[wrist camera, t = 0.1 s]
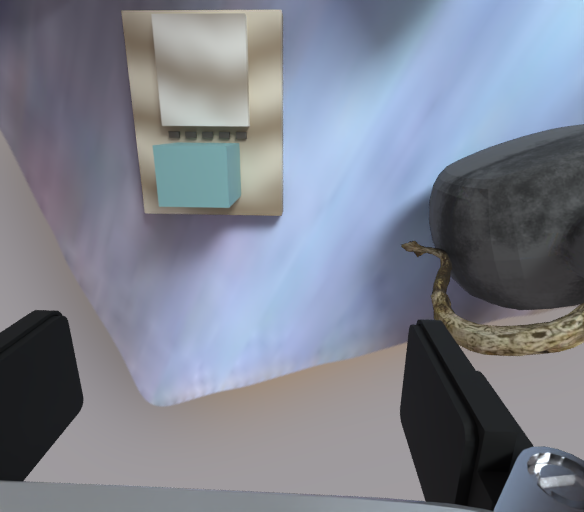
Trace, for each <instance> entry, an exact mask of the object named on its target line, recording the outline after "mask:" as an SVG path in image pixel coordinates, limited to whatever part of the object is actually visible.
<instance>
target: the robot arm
mask: <svg viewBox="0 0 584 512" xmlns="http://www.w3.org/2000/svg"><path fill="white" fill-rule="evenodd" d="M82 405H83V394H82V389H81V384H80V378H79V373H78V368H77V364H76V358H75V353H74V348H73V344H72V338H71V333H70V328H69V323H68V320H67V318H66V317H65V316H62V314H61V313H60V312H59V311H46V310H35V311H33V312H31V313H29V314H28V315H26V316H25V317H23V318H22V319H20V320H19V321H17V322H16V323H14V324H13V325H11V326H10V327H8V328H7V329H5V330H4V331H2V332H1V333H0V512H584V460H582V459H580V458H578V457H576V456H574V455H572V454H570V453H567V452H564V451H562V450H559V449H555V448H550V447H545V446H543V447H534V446H533V445H532V443H531V442H530V440H529V439H528V438H527V436H526V435H525V433H524V432H523V431H522V429H521V428H520V426H519V425H518V424H517V422H516V421H515V419H514V418H513V416H512V415H511V413H510V412H509V411H508V409H507V408H506V406H505V405H504V403H503V402H502V401H501V399H500V398H499V396H498V395H497V393H496V392H495V391H494V389H493V388H492V386H491V385H490V384H489V382H488V381H487V379H486V378H485V377H484V375H483V374H482V373H481V372H479V371H475V369H474V367H473V366H472V364H471V363H470V361H469V360H468V359H467V357H466V356H465V354H464V353H463V351H462V350H461V348H460V347H459V345H458V344H457V342H456V341H455V340H454V338H453V337H452V335H451V334H450V332H449V331H448V329H447V328H446V326H445V325H444V323H443V322H442V321H441V320H418V321H417V324H416V325H411V326H410V328H409V335H408V343H407V353H406V362H405V370H404V380H403V388H402V397H401V406H400V417H401V423H402V426H403V430H404V433H405V436H406V439H407V442H408V446H409V449H410V452H411V455H412V459H413V462H414V465H415V468H416V472H417V475H418V478H419V481H420V484H421V488H422V491H423V494H424V497H425V501H414V500H402V499H390V498H376V497H356V496H354V497H353V496H336V495H315V494H295V493H275V492H254V491H231V490H211V489H187V488H165V487H143V486H142V487H141V486H120V485H97V484H96V485H95V484H73V483H72V484H71V483H48V482H26V481H24V479H25V478H26V477H27V476H28V475H29V473H30V472H31V471H32V470H33V468H34V467H35V466H36V465H37V463H38V462H39V461H40V460H41V459H42V457H43V456H44V455H45V453H46V452H47V451H48V450H49V449H50V447H51V446H52V445H53V444H54V443H55V441H56V440H57V439H58V438H59V436H60V435H61V434H62V433H63V432H64V430H65V429H66V427H68V425H69V424H70V423H71V422H72V420H73V419H74V418H75V417H76V416H77V414H78V413H79V412H80V410H81V408H82Z"/></svg>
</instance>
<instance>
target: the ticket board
mask: <svg viewBox="0 0 584 512" xmlns="http://www.w3.org/2000/svg"><path fill="white" fill-rule="evenodd" d="M121 13H122V21H123V30H124V38H125V47H126V55H127V64H128V73H129V81H130V90H131V98H132V107H133V115H134V124H135V133H136V141H137V150H138V158H139V167H140V175H141V184H142V193H143V201H144V210H145V213H149V214H209V215H268V216H282V213H283V14H282V10H126V11H121ZM176 142H183V143H239V146H240V175H241V196H240V197H239V198H238V199H237V200H236V201H235V202H234V203H233V204H232V205H231V206H230V207H229V208H212V207H159V202H158V193H157V183H156V174H155V164H154V155H153V145H160V144H168V143H176Z"/></svg>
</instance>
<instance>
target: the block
mask: <svg viewBox="0 0 584 512" xmlns="http://www.w3.org/2000/svg"><path fill="white" fill-rule="evenodd" d="M153 155H154V164H155V174H156V183H157V193H158V202H159V207H212V208H229V207H230V206H231V205H232V204H233V203H234V202H235V201H236V200H237V199H238V198H239V197H240V196H241V175H240V146H239V143H183V142H176V143H168V144H160V145H153Z"/></svg>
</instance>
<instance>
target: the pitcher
mask: <svg viewBox="0 0 584 512" xmlns="http://www.w3.org/2000/svg"><path fill="white" fill-rule="evenodd" d="M429 224H430V229H431V235H432V241H433V243H434V246H435V248H432V247H424V246H421V245H419V244H418V243H417V242H416V241H412V242H411V241H410V242H409V243H405V244H402V245H401V246H402V248H404V249H405V250H406V251H409V252H414V253H415V254H416V255H417V257H419V256H421V255H422V254H424V253H429V254H433V255H435V256H437V257H438V258H440V259H441V266H440V269H439V271H438V273H437V276H436V279H435V282H434V286H433V292H432V295H431V299H432V304H433V309H434V319H435V320H441V321H442V322H443V323H444V325H445V326H446V328H447V329H448V331H449V332H450V334H451V335H452V337H453V338H454V340H455V341H456V342H457V344H458V345H460V346H462V347H464V348H466V349H468V350H470V351H473V352H477V353H480V354H485V355H500V356H523V355H533V354H544V353H554V352H560V351H564V350H567V349H571V348H574V347H576V346H578V345H580V344H582V343H584V124H583V125H574V126H567V127H561V128H555V129H550V130H546V131H542V132H538V133H534V134H530V135H527V136H523V137H520V138H517V139H513V140H510V141H507V142H504V143H501V144H498V145H495V146H492V147H489V148H487V149H484V150H481V151H479V152H476V153H474V154H472V155H469V156H467V157H465V158H462V159H460V160H458V161H456V162H454V163H452V164H450V165H449V166H447V167H446V168H445V169H444V170H443V171H442V172H441V173H440V174H439V176H438V177H437V179H436V181H435V183H434V185H433V188H432V193H431V197H430V202H429ZM450 275H451V277H452V278H453V279H454V280H455V281H456V282H457V283H458V284H459V285H460V286H461V287H462V288H463V289H464V290H465V291H467V292H468V293H469V294H471V295H472V296H475V297H478V298H480V299H483V300H485V301H487V302H489V303H492V304H495V305H498V306H501V307H506V308H512V309H517V310H534V309H552V308H559V307H567V306H574V305H578V304H580V305H579V306H578V307H577V308H576V309H574V310H573V311H572V312H570V313H569V314H568V315H565V316H564V317H561V318H558V319H556V320H553V321H551V322H546V323H545V322H544V323H536V324H529V325H518V326H491V325H479V324H476V323H473V322H470V321H467V320H465V319H463V318H461V317H459V316H457V315H456V314H455V313H454V311H453V310H452V308H451V302H450V299H449V297H448V295H447V294H446V290H447V286H448V284H449V281H450Z"/></svg>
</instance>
